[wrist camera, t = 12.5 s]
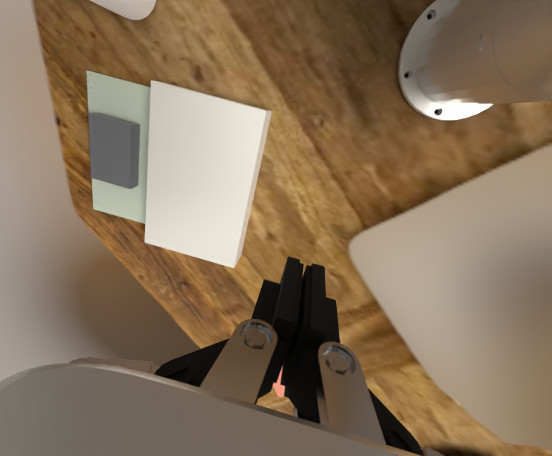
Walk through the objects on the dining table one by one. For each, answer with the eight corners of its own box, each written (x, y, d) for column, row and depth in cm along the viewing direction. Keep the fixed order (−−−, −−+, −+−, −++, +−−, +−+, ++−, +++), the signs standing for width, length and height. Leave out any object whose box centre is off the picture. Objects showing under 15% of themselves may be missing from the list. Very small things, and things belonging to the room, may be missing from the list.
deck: (168, 83, 35) (150, 80, 31) (271, 111, 35) (266, 110, 31) (159, 231, 44) (144, 242, 41) (240, 255, 44) (233, 268, 40)
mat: (89, 70, 36) (86, 70, 35) (164, 90, 36) (162, 90, 35) (95, 207, 44) (93, 208, 44) (156, 225, 44) (154, 226, 43)
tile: (131, 124, 35) (140, 124, 37) (88, 112, 36) (99, 112, 37) (129, 189, 39) (138, 185, 41) (91, 177, 39) (101, 174, 41)
